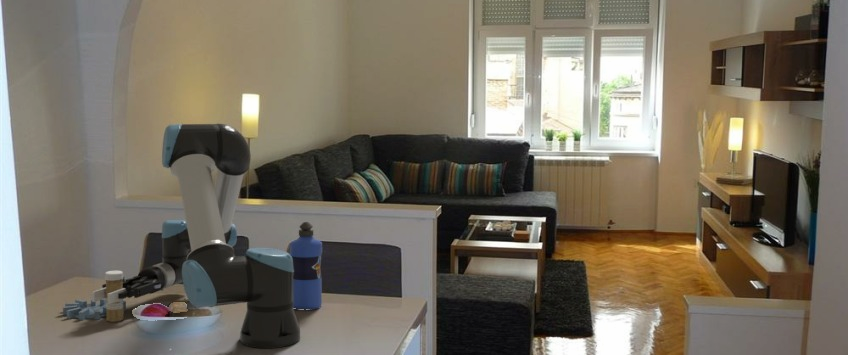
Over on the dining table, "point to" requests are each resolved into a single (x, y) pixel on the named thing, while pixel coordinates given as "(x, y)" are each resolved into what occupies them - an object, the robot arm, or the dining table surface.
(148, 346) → the dining table surface
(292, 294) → the robot arm
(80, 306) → the blue gear trivet
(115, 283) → the sprinkles bottle
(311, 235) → the water bottle
